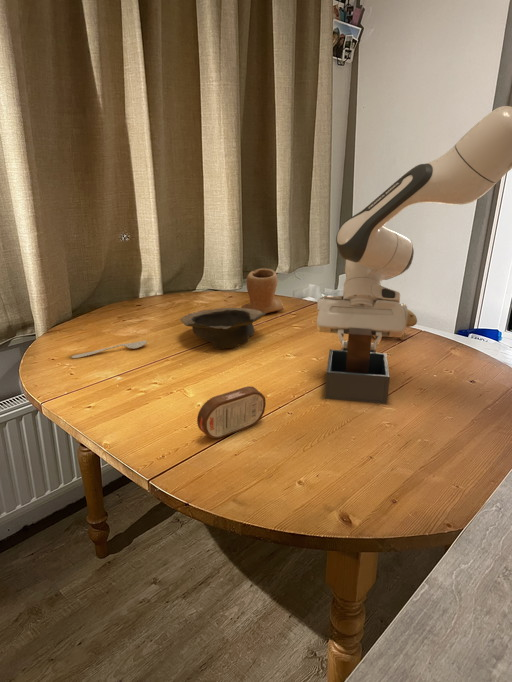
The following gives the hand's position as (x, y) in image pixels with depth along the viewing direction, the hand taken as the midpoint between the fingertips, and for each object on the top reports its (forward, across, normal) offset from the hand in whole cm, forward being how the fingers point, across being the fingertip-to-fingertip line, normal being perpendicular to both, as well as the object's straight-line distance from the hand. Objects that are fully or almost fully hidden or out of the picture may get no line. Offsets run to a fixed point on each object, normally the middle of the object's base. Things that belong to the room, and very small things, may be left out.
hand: (358, 350), depth 114 cm
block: (+3, 0, +4) cm, 5 cm away
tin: (+24, -24, -10) cm, 35 cm away
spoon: (0, -67, +15) cm, 69 cm away
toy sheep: (-20, +9, +34) cm, 40 cm away
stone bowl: (-12, -39, +26) cm, 48 cm away
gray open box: (+6, 0, +7) cm, 10 cm away
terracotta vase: (-31, -31, +45) cm, 63 cm away
